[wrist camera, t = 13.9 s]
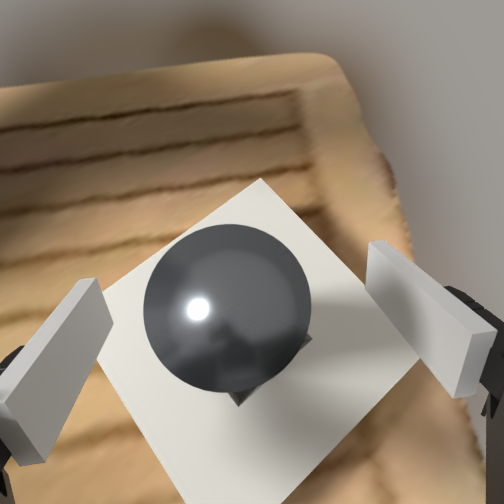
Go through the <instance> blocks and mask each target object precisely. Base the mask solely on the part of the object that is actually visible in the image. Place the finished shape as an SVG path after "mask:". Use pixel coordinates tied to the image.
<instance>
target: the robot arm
mask: <svg viewBox="0 0 504 504" xmlns="http://www.w3.org/2000/svg"><path fill="white" fill-rule="evenodd" d="M365 290H366V291H367V292H368V294H369V295H370V296H371V297H372V299H373V300H374V301H375V302H376V304H377V305H378V306H379V307H380V309H381V310H382V311H383V312H384V314H385V315H386V316H387V317H388V319H389V320H390V321H391V322H392V323H393V325H394V326H395V327H396V328H397V330H398V331H399V332H400V333H401V335H402V336H403V337H404V338H405V340H406V341H407V342H408V343H409V345H410V346H411V347H412V348H413V350H414V351H415V352H416V353H417V355H418V356H419V357H420V358H421V360H422V361H423V362H424V363H425V365H426V366H427V367H428V368H429V370H430V371H431V372H432V373H433V375H434V376H435V377H436V378H437V380H438V381H439V382H440V383H441V385H442V386H443V387H444V388H445V389H446V391H447V392H448V393H449V394H450V396H451V397H452V398H453V399H455V398H462V397H468V396H475V395H476V392H477V388H478V386H479V383H481V384H482V385H483V386H484V387H485V388H486V389H487V390H488V391H489V394H488V397H487V400H486V402H485V405H484V408H483V410H482V413H481V415H482V416H485V415H486V419H487V420H486V504H504V322H502V321H501V320H500V319H499V318H497V317H496V316H495V315H493V314H492V313H491V312H489V311H488V310H486V309H484V307H483V306H481V305H480V304H479V303H477V302H475V300H473V299H472V298H471V297H469V296H468V295H467V294H465V293H464V292H462V291H460V290H457V289H455V288H453V287H451V286H445V287H443V286H441V285H440V284H439V283H437V282H436V281H435V280H434V279H432V278H431V277H430V276H429V275H427V274H426V273H425V272H424V271H423V270H421V269H420V268H419V267H418V266H416V265H415V264H414V263H413V262H411V261H410V260H409V259H408V258H406V257H405V256H404V255H403V254H401V253H400V252H399V251H398V250H396V249H395V248H394V247H392V246H391V245H390V244H389V243H387V242H386V241H385V240H380V241H372V242H369V248H368V259H367V271H366V283H365ZM113 324H114V322H113V320H112V317H111V314H110V312H109V309H108V307H107V304H106V301H105V299H104V296H103V293H102V291H101V288H100V286H99V283H98V280H97V278H96V277H94V278H86V279H80V280H79V281H78V282H77V283H76V284H75V286H74V287H73V288H72V289H71V291H70V292H69V293H68V294H67V295H66V297H65V298H64V299H63V300H62V301H61V303H60V304H59V305H58V306H57V308H56V309H55V310H54V311H53V312H52V314H51V315H50V316H49V317H48V318H47V320H46V321H45V322H44V323H43V325H42V326H41V327H40V328H39V329H38V331H37V332H36V333H35V334H34V336H33V337H32V338H31V339H30V340H29V342H28V343H27V344H26V345H24V346H20V347H18V348H17V349H16V350H14V351H13V352H12V353H11V354H9V355H8V356H7V357H5V359H4V360H3V361H2V362H1V363H0V504H15V501H14V496H13V492H12V488H11V484H10V480H9V476H8V474H7V472H6V471H5V470H4V466H5V464H6V463H7V461H8V460H9V458H10V456H11V455H12V457H13V458H14V459H15V461H16V462H17V463H18V465H19V466H26V465H32V464H39V463H45V462H46V460H47V458H48V456H49V454H50V452H51V450H52V448H53V446H54V444H55V442H56V440H57V438H58V436H59V434H60V432H61V430H62V428H63V426H64V424H65V422H66V420H67V418H68V416H69V413H70V411H71V409H72V407H73V405H74V403H75V401H76V399H77V397H78V395H79V393H80V391H81V389H82V387H83V385H84V383H85V381H86V379H87V377H88V375H89V373H90V371H91V369H92V367H93V365H94V363H95V361H96V359H97V357H98V355H99V353H100V351H101V349H102V347H103V345H104V343H105V341H106V339H107V337H108V335H109V333H110V330H111V328H112V326H113Z"/></svg>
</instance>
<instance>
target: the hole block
mask: <svg viewBox="0 0 504 504" xmlns="http://www.w3.org/2000/svg"><path fill="white" fill-rule="evenodd" d="M221 224H239V225H246V226H250V227H254V228H257V229H259V230H262V231H264V232H266V233H268V234H270V235H272V236H274V237H275V238H276V239H278V240H279V241H280V242H282V243H283V244H284V245H285V246H286V247H287V248H288V249H289V250H290V251H291V252H292V253H293V255H294V256H295V257H296V258H297V260H298V262H299V263H300V265H301V266H302V268H303V271H304V273H305V275H306V278H307V281H308V284H309V288H310V294H311V319H310V324H309V328H308V332H307V334H306V337H305V340H304V342H303V344H302V346H301V348H300V350H299V351H298V353H297V354H296V356H295V357H294V358H293V360H292V361H291V362H290V363H289V364H288V365H287V366H286V368H285V369H284V370H283V371H281V372H280V373H279V374H278V375H276V376H275V377H274V378H272V379H270V380H269V381H267V382H265V383H264V384H261V385H259V386H257V387H254V388H252V389H248V390H244V391H240V392H231V393H217V392H211V391H205V390H202V389H199V388H196V387H193V386H191V385H189V384H187V383H185V382H183V381H181V380H180V379H179V378H177V377H176V376H174V375H173V374H172V373H171V372H170V371H169V370H168V369H167V368H165V367H164V365H163V364H162V363H161V362H160V360H159V359H158V358H157V356H156V354H155V353H154V351H153V349H152V348H151V345H150V343H149V340H148V338H147V334H146V330H145V326H144V318H143V303H144V296H145V291H146V287H147V284H148V281H149V279H150V276H151V274H152V272H153V270H154V268H155V267H156V265H157V263H158V262H159V261H160V259H161V258H162V256H163V255H164V254H165V253H166V252H167V251H168V250H169V249H170V248H171V247H172V246H173V245H174V244H176V243H177V242H178V241H179V240H181V239H182V238H184V237H185V236H187V235H189V234H191V233H193V232H195V231H197V230H200V229H203V228H206V227H210V226H214V225H221ZM102 293H103V296H104V299H105V301H106V304H107V307H108V309H109V312H110V314H111V317H112V320H113V322H114V324H113V326H112V328H111V330H110V333H109V335H108V337H107V339H106V341H105V343H104V345H103V347H102V349H101V351H100V353H99V355H98V357H97V359H96V360H97V361H98V363H99V364H100V366H101V368H102V369H103V371H104V372H105V374H106V376H107V377H108V379H109V381H110V382H111V384H112V385H113V387H114V389H115V390H116V392H117V393H118V395H119V397H120V398H121V400H122V401H123V403H124V405H125V406H126V408H127V409H128V411H129V413H130V414H131V416H132V418H133V419H134V421H135V422H136V424H137V426H138V427H139V429H140V430H141V432H142V434H143V435H144V437H145V438H146V440H147V442H148V443H149V445H150V447H151V448H152V450H153V451H154V453H155V455H156V456H157V458H158V459H159V461H160V463H161V464H162V466H163V467H164V469H165V471H166V472H167V474H168V475H169V477H170V479H171V480H172V482H173V484H174V485H175V487H176V488H177V490H178V492H179V493H180V495H181V496H182V498H183V500H184V501H185V503H186V504H281V503H282V502H283V501H284V500H285V499H286V498H287V497H288V496H289V495H290V494H291V492H292V491H293V490H294V489H295V488H296V487H297V486H298V485H299V484H300V483H301V482H302V481H303V480H304V479H305V478H306V477H307V476H308V475H309V474H310V473H311V472H312V471H313V470H314V469H315V467H316V466H317V465H318V464H319V463H320V462H321V461H322V460H323V459H324V458H325V457H326V456H327V455H328V454H329V453H330V452H331V451H332V450H333V449H334V448H335V447H336V446H337V445H338V443H339V442H340V441H341V440H342V439H343V438H344V437H345V436H346V435H347V434H348V433H349V432H350V431H351V430H352V429H353V428H354V427H355V426H356V425H357V424H358V423H359V422H360V421H361V420H362V418H363V417H364V416H365V415H366V414H367V413H368V412H369V411H370V410H371V409H372V408H373V407H374V406H375V405H376V404H377V403H378V402H379V401H380V400H381V399H382V398H383V397H384V396H385V395H386V393H387V392H388V391H389V390H390V389H391V388H392V387H393V386H394V385H395V384H396V383H397V382H398V381H399V380H400V379H401V378H402V377H403V376H404V375H405V374H406V373H407V372H408V371H409V369H410V368H411V367H412V366H413V365H414V364H415V363H416V362H417V361H418V360H419V359H420V357H419V356H418V355H417V353H416V352H415V351H414V350H413V348H412V347H411V346H410V345H409V343H408V342H407V341H406V340H405V338H404V337H403V336H402V335H401V333H400V332H399V331H398V330H397V328H396V327H395V326H394V325H393V323H392V322H391V321H390V320H389V319H388V317H387V316H386V315H385V314H384V312H383V311H382V310H381V309H380V307H379V306H378V305H377V304H376V302H375V301H374V300H373V299H372V297H371V296H370V295H369V294H368V292H367V291H366V290H365V285H364V284H363V283H362V282H361V281H360V280H359V279H358V277H357V276H356V275H355V274H354V273H353V272H352V271H351V270H350V269H349V268H348V267H347V266H346V265H345V264H344V263H343V262H342V261H341V260H340V259H339V258H338V257H337V256H336V255H335V254H334V253H333V252H332V251H331V250H330V249H329V248H328V247H327V246H326V245H325V244H324V243H323V241H322V240H321V239H320V238H319V237H318V236H317V235H316V234H315V233H314V232H313V231H312V230H311V229H310V228H309V227H308V226H307V225H306V224H305V223H304V222H303V221H302V220H301V219H300V218H299V217H298V216H297V215H296V214H295V213H294V212H293V211H292V210H291V209H290V208H289V207H288V205H287V204H286V203H285V202H284V201H283V200H282V199H281V198H280V197H279V196H278V195H277V194H276V193H275V192H274V191H273V190H272V189H271V188H270V187H269V186H268V185H267V184H266V183H265V182H264V181H263V180H262V179H261V178H259V179H258V180H256V181H255V182H254V183H252V184H251V185H250V186H248V187H247V188H245V189H244V190H243V191H241V192H240V193H239V194H237V195H236V196H234V197H233V198H232V199H230V200H229V201H227V202H226V203H225V204H223V205H222V206H221V207H219V208H218V209H216V210H215V211H214V212H212V213H211V214H209V215H208V216H207V217H205V218H204V219H203V220H201V221H200V222H198V223H197V224H196V225H194V226H193V227H191V228H190V229H189V230H187V231H186V232H185V233H183V234H182V235H180V236H179V237H178V238H176V239H175V240H173V241H172V242H171V243H169V244H168V245H167V246H165V247H164V248H162V249H161V250H160V251H158V252H157V253H155V254H154V255H153V256H151V257H150V258H149V259H147V260H146V261H144V262H143V263H142V264H140V265H139V266H137V267H136V268H135V269H133V270H132V271H131V272H129V273H128V274H126V275H125V276H124V277H122V278H121V279H119V280H118V281H117V282H115V283H114V284H113V285H111V286H110V287H108V288H107V289H106V290H104V291H103V292H102Z"/></svg>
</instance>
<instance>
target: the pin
mask: <svg viewBox="0 0 504 504" xmlns="http://www.w3.org/2000/svg"><path fill="white" fill-rule="evenodd" d="M143 318H144V326H145V330H146V334H147V338H148V340H149V343H150V345H151V348H152V349H153V351H154V353H155V354H156V356H157V358H158V359H159V360H160V362H161V363H162V364H163V365H164V367H165V368H167V369H168V370H169V371H170V372H171V373H172V374H173V375H174V376H176V377H177V378H179V379H180V380H181V381H183V382H185V383H187V384H189V385H191V386H193V387H196V388H199V389H202V390H205V391H211V392H217V393H231V392H240V391H244V390H248V389H252V388H254V387H257V386H259V385H261V384H264V383H265V382H267V381H269V380H270V379H272V378H274V377H275V376H276V375H278V374H279V373H280V372H281V371H283V370H284V369H285V368H286V366H287V365H288V364H289V363H290V362H291V361H292V360H293V358H294V357H295V356H296V354H297V353H298V351H299V350H300V348H301V346H302V344H303V342H304V340H305V337H306V334H307V332H308V328H309V324H310V319H311V294H310V288H309V284H308V281H307V278H306V275H305V273H304V271H303V268H302V266H301V265H300V263H299V262H298V260H297V258H296V257H295V256H294V255H293V253H292V252H291V251H290V250H289V249H288V248H287V247H286V246H285V245H284V244H283V243H282V242H280V241H279V240H278V239H276V238H275V237H274V236H272V235H270V234H268V233H266V232H264V231H262V230H259V229H257V228H254V227H250V226H246V225H239V224H221V225H214V226H210V227H206V228H203V229H200V230H197V231H195V232H193V233H191V234H189V235H187V236H185V237H184V238H182V239H181V240H179V241H178V242H177V243H176V244H174V245H173V246H172V247H171V248H170V249H169V250H168V251H167V252H166V253H165V254H164V255H163V256H162V258H161V259H160V261H159V262H158V263H157V265H156V267H155V268H154V270H153V272H152V274H151V276H150V279H149V281H148V284H147V287H146V291H145V296H144V303H143Z"/></svg>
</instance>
